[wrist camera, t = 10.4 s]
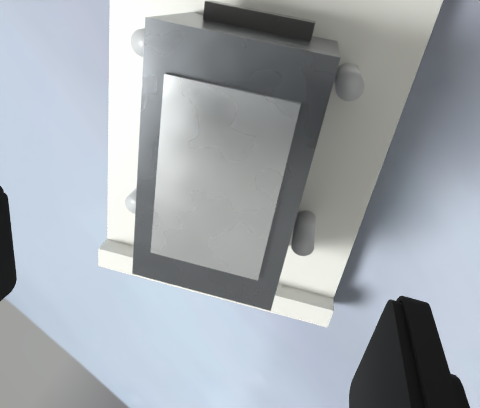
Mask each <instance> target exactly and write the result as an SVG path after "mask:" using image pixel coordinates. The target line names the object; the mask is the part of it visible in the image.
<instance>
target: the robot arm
mask: <svg viewBox="0 0 480 408" xmlns="http://www.w3.org/2000/svg"><path fill="white" fill-rule="evenodd" d="M15 284H16V268H15V259H14V250H13V241H12V231H11V222H10V213H9V203H8V197H7V195H6V194H5V193H4V191H3V189H2V187H1V186H0V301H1V300H2V299H3V298H4V297H6V296H7V295H8V294H9V293H10V292H11V291H12V290H13V288H14V286H15ZM349 408H470V406H469V403H468V400H467V397H466V394H465V391H464V388H463V385H462V383H461V381H460V379H459V378H458V377H457V376H456V375H453V374H450V371H449V368H448V364H447V361H446V358H445V354H444V351H443V348H442V344H441V341H440V338H439V334H438V331H437V328H436V324H435V321H434V318H433V314H432V311H431V308H430V306H429V304H428V303H426V302H423V301H419V300H415V299H412V298H408V297H404V296H400V297H399V298H398V299H397V301H394V300H389V301H388V302H387V304H386V306H385V308H384V310H383V313H382V315H381V317H380V319H379V322H378V324H377V326H376V328H375V331H374V333H373V335H372V337H371V340H370V342H369V344H368V346H367V349H366V351H365V353H364V355H363V358H362V360H361V362H360V364H359V367H358V369H357V371H356V373H355V375H354V378H353V380H352V383H351V387H350V393H349Z"/></svg>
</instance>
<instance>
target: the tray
mask: <svg viewBox="0 0 480 408" xmlns="http://www.w3.org/2000/svg"><path fill="white" fill-rule="evenodd" d="M205 1H217V2H222V3H227V4H232V5H237V6H242V7H247V8H252V9H257V10H262V11H267V12H272V13H277V14H282V15H287V16H292V17H297V18H302V19H307V20H312V21H316V23H315V28H314V32H313V36H314V37H319V38H324V39H329V40H334V41H338V47H339V52H340V57H341V58H340V62H339V65H338V69H337V73H336V76H335V80H334V83H333V87H332V91H331V94H330V98H329V102H328V105H327V109H326V112H325V116H324V120H323V123H322V127H321V131H320V134H319V138H318V141H317V145H316V149H315V152H314V156H313V160H312V163H311V167H310V170H309V174H308V178H307V181H306V185H305V188H304V192H303V196H302V199H301V203H300V207H299V210H298V214H297V217H296V221H295V225H294V228H293V232H292V236H291V239H290V243H289V246H288V250H287V254H286V257H285V261H284V265H283V268H282V272H281V275H280V279H279V283H278V286H277V290H276V293H275V297H274V301H273V304H272V308H271V311H269V310H265V309H261V308H258V307H254V306H250V305H247V304H243V303H239V302H235V301H232V300H228V299H224V298H221V297H217V296H213V295H209V294H206V293H202V292H198V291H195V290H191V289H187V288H183V287H180V286H176V285H172V284H168V283H165V282H161V281H157V280H154V279H150V278H146V277H142V276H139V275H135V274H132V268H133V249H134V229H135V210H136V190H137V170H138V151H139V131H140V112H141V92H142V72H143V53H144V33H145V17H152V16H161V15H170V14H179V13H188V12H196V13H201V14H203V13H204V4H205ZM442 3H443V0H110V43H109V128H108V212H107V240H106V241H105V242H104V243H103V244H102V245H101V246H100V248H99V249H98V266H100V267H104V268H108V269H111V270H115V271H119V272H123V273H126V274H130V275H134V276H137V277H141V278H145V279H149V280H152V281H156V282H160V283H163V284H167V285H171V286H175V287H178V288H182V289H186V290H190V291H193V292H197V293H201V294H204V295H208V296H212V297H216V298H219V299H223V300H227V301H230V302H234V303H238V304H242V305H245V306H249V307H253V308H257V309H260V310H264V311H268V312H271V313H275V314H279V315H283V316H286V317H290V318H294V319H298V320H301V321H305V322H309V323H312V324H316V325H320V326H324V327H328V325H329V322H330V319H331V317H332V314H333V311H334V301H333V298H334V295H335V293H336V290H337V287H338V285H339V282H340V279H341V277H342V274H343V271H344V268H345V266H346V263H347V260H348V258H349V255H350V252H351V249H352V247H353V244H354V241H355V239H356V236H357V233H358V230H359V228H360V225H361V222H362V220H363V217H364V214H365V211H366V209H367V206H368V203H369V201H370V198H371V195H372V192H373V190H374V187H375V184H376V182H377V179H378V176H379V173H380V171H381V168H382V165H383V163H384V160H385V157H386V154H387V152H388V149H389V146H390V144H391V141H392V138H393V135H394V133H395V130H396V127H397V125H398V122H399V119H400V116H401V114H402V111H403V108H404V106H405V103H406V100H407V97H408V95H409V92H410V89H411V87H412V84H413V81H414V78H415V76H416V73H417V70H418V68H419V65H420V62H421V60H422V57H423V54H424V51H425V49H426V46H427V43H428V41H429V38H430V35H431V32H432V30H433V27H434V24H435V22H436V19H437V16H438V13H439V11H440V8H441V5H442Z"/></svg>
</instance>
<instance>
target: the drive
mask: <svg viewBox="0 0 480 408" xmlns="http://www.w3.org/2000/svg"><path fill="white" fill-rule="evenodd" d="M315 23H316V21H312V20H307V19H302V18H297V17H292V16H287V15H282V14H277V13H272V12H267V11H262V10H257V9H252V8H247V7H242V6H237V5H232V4H227V3H222V2H217V1H205V4H204V13H203V14H201V13H196V12H188V13H179V14H170V15H161V16H152V17H145V33H144V53H143V72H142V92H141V112H140V131H139V151H138V170H137V190H136V210H135V229H134V249H133V268H132V274H135V275H139V276H142V277H146V278H150V279H154V280H157V281H161V282H165V283H168V284H172V285H176V286H180V287H183V288H187V289H191V290H195V291H198V292H202V293H206V294H209V295H213V296H217V297H221V298H224V299H228V300H232V301H235V302H239V303H243V304H247V305H250V306H254V307H258V308H261V309H265V310H269V311H271V308H272V304H273V301H274V297H275V293H276V290H277V286H278V283H279V279H280V275H281V272H282V268H283V265H284V261H285V257H286V254H287V250H288V246H289V243H290V239H291V236H292V232H293V228H294V225H295V221H296V217H297V214H298V210H299V207H300V203H301V199H302V196H303V192H304V188H305V185H306V181H307V178H308V174H309V170H310V167H311V163H312V160H313V156H314V152H315V149H316V145H317V141H318V138H319V134H320V131H321V127H322V123H323V120H324V116H325V112H326V109H327V105H328V102H329V98H330V94H331V91H332V87H333V83H334V80H335V76H336V73H337V69H338V65H339V62H340V58H341V57H340V52H339V47H338V41H334V40H329V39H324V38H319V37H314V36H313V32H314V28H315Z"/></svg>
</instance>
